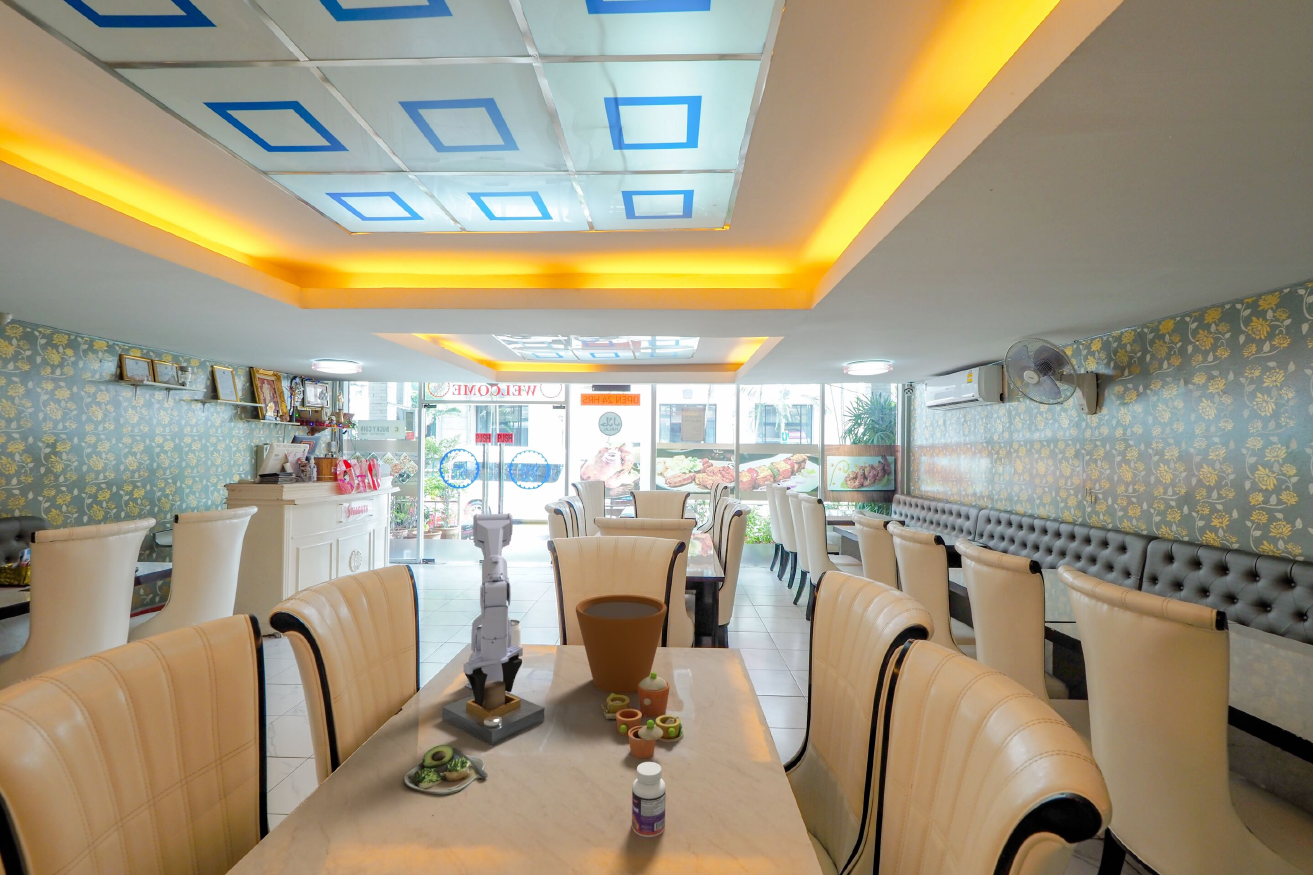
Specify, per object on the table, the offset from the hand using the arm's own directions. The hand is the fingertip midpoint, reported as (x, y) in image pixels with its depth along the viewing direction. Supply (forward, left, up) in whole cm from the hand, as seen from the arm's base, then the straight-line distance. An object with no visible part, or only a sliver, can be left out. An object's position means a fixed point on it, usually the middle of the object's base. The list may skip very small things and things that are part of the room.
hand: (493, 696), depth 130 cm
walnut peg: (0, 0, -5) cm, 5 cm away
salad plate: (+12, -18, -6) cm, 22 cm away
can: (-24, +23, -6) cm, 34 cm away
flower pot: (+8, +34, -6) cm, 35 cm away
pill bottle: (+50, -7, -6) cm, 51 cm away
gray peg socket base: (0, 0, -5) cm, 5 cm away
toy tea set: (+29, +18, -6) cm, 35 cm away
